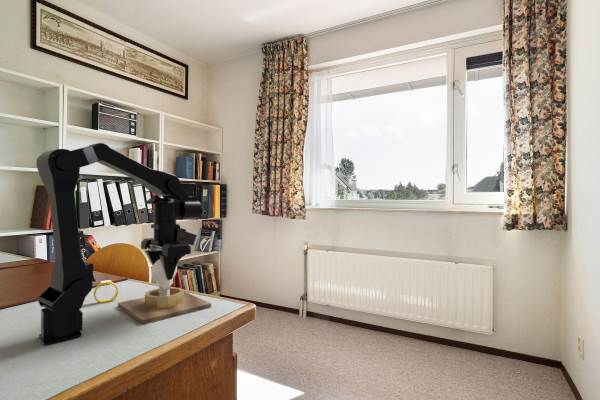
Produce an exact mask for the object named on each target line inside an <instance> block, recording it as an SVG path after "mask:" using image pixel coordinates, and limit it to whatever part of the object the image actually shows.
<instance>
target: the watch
mask: <svg viewBox="0 0 600 400" xmlns="http://www.w3.org/2000/svg"><path fill="white" fill-rule="evenodd" d="M107 285H112V286H114V288H115V291H116V292H115V295H114V296H113V297H112V298H110V299H105V300H104V299H103V300H101V299H98V298H97V296H96V295H97V290H98V289H99V288H100V287H101V286H107ZM118 295H119V287H118V286H117V285H116V283H114V282H113V281H112V280H111V279H107V280H101V281H100V283H99V284H97V285H96V286H95V288H94V289H93V297H94V299H95V301H96V302H97V303H99V304H104V303H109V302H113V301H114V300H115V299H117V297H118Z"/></svg>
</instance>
